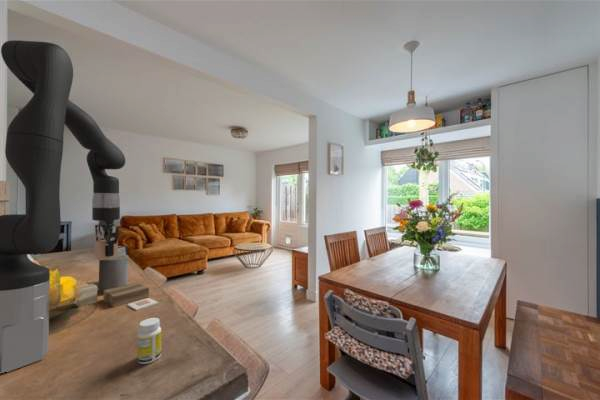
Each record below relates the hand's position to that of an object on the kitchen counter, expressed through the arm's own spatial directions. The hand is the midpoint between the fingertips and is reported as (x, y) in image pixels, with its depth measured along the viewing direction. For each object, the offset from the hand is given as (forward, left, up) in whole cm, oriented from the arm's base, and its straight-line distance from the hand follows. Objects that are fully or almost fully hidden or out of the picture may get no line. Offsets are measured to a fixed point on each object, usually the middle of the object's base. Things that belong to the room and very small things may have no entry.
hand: (106, 254), depth 84 cm
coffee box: (+29, -12, -18) cm, 36 cm away
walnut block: (+2, -7, -18) cm, 20 cm away
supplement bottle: (-43, +5, -18) cm, 47 cm away
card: (-9, -8, -18) cm, 21 cm away
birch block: (+9, +3, -18) cm, 20 cm away
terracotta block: (0, 0, -1) cm, 1 cm away
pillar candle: (+17, -8, -18) cm, 26 cm away
